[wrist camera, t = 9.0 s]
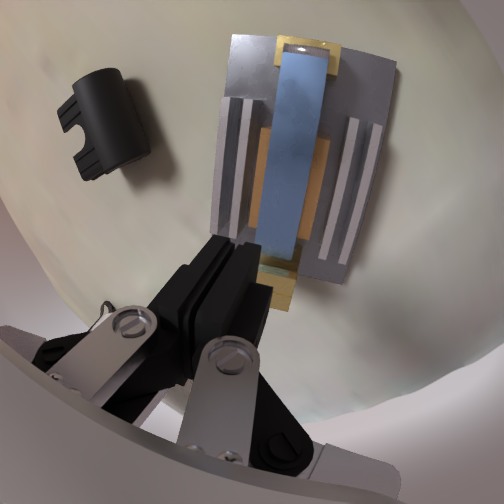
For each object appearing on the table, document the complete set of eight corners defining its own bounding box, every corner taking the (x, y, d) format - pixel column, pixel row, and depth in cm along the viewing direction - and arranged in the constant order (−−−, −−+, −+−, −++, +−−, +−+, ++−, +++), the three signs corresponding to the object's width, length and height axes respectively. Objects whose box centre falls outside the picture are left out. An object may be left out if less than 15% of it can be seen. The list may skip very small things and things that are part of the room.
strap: (286, 44, 16) (283, 40, 15) (330, 51, 15) (330, 48, 15) (255, 246, 23) (252, 252, 23) (292, 255, 23) (290, 261, 22)
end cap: (165, 146, 28) (127, 160, 22) (120, 171, 31) (81, 189, 25) (134, 67, 24) (91, 66, 19) (92, 99, 27) (50, 106, 21)
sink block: (237, 37, 21) (194, 12, 13) (393, 64, 19) (423, 44, 11) (215, 246, 32) (178, 295, 24) (341, 276, 30) (341, 337, 22)
